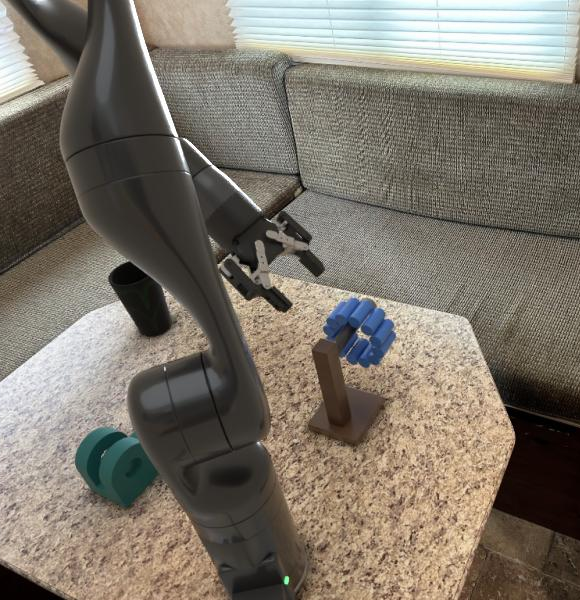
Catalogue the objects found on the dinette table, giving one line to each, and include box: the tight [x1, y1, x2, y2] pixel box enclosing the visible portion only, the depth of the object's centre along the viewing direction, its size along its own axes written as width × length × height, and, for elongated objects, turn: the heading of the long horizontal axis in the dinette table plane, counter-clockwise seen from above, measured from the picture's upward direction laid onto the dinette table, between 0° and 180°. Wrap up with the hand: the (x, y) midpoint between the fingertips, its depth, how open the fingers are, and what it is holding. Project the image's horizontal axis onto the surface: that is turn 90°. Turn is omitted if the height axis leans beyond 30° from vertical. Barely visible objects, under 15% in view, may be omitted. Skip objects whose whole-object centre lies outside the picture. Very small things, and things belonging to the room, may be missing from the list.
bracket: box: [74, 425, 160, 510], centre depth 84 cm, size 18×7×8 cm, turn 153°
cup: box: [107, 260, 173, 338], centre depth 104 cm, size 8×8×12 cm
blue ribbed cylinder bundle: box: [322, 296, 397, 369], centre depth 86 cm, size 4×9×9 cm, turn 64°
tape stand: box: [307, 297, 386, 447], centre depth 85 cm, size 14×8×16 cm, turn 154°
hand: (305, 290), depth 85 cm, fingers open, 8 cm apart
